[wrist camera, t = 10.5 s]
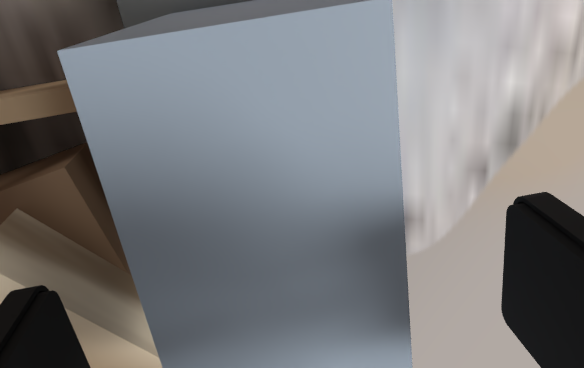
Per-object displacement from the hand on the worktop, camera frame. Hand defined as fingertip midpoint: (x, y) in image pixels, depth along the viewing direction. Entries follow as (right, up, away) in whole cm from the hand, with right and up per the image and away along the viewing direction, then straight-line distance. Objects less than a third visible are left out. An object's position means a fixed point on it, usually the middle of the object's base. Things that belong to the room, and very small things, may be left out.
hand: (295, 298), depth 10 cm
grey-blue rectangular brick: (-2, +5, +13) cm, 14 cm away
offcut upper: (-10, -3, +12) cm, 16 cm away
